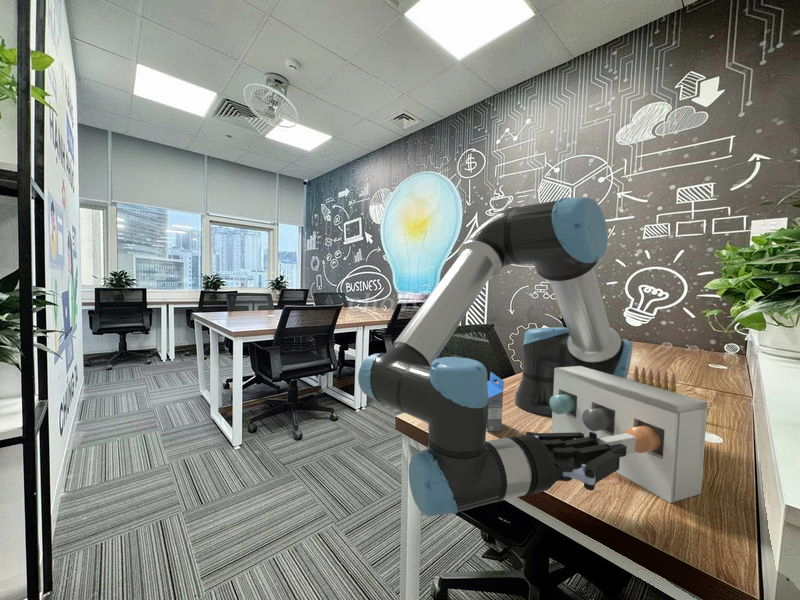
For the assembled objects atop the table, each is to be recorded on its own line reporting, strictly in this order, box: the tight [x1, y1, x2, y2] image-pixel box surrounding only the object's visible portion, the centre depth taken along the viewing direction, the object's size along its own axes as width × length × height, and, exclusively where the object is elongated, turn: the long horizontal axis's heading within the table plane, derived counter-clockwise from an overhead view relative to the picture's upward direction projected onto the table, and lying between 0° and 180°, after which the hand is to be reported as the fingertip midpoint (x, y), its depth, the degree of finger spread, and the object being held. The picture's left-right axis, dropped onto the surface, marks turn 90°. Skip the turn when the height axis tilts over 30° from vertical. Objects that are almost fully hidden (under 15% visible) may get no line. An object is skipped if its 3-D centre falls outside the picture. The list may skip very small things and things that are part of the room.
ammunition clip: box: [632, 365, 677, 393], centre depth 94 cm, size 11×2×12 cm, turn 36°
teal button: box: [550, 394, 575, 414], centre depth 72 cm, size 4×3×4 cm
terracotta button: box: [624, 426, 660, 453], centre depth 56 cm, size 4×3×4 cm
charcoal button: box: [582, 408, 612, 431], centre depth 64 cm, size 4×3×4 cm
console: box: [550, 366, 708, 504], centre depth 65 cm, size 25×8×16 cm, turn 20°
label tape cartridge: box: [486, 371, 505, 433], centre depth 81 cm, size 9×4×12 cm, turn 6°
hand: (630, 442), depth 54 cm, fingers closed
